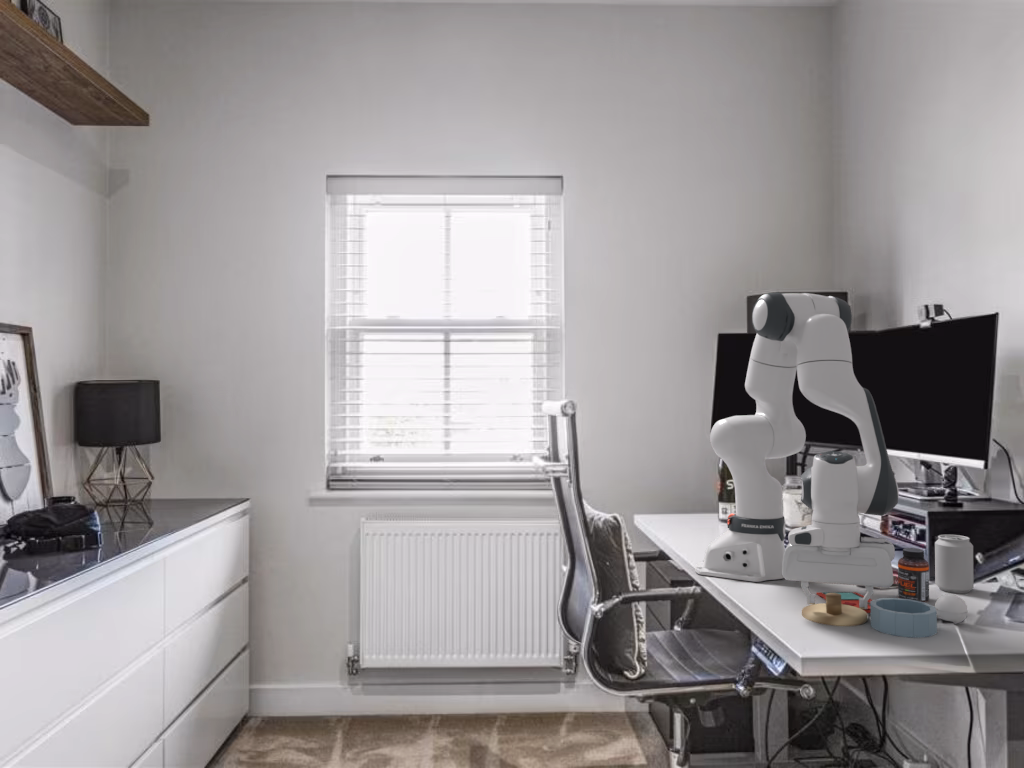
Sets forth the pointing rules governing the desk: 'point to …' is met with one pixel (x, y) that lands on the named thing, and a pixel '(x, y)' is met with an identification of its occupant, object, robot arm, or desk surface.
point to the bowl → (903, 617)
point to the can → (954, 563)
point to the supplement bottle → (913, 575)
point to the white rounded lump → (951, 608)
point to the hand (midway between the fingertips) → (837, 606)
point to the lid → (835, 612)
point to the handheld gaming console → (848, 599)
